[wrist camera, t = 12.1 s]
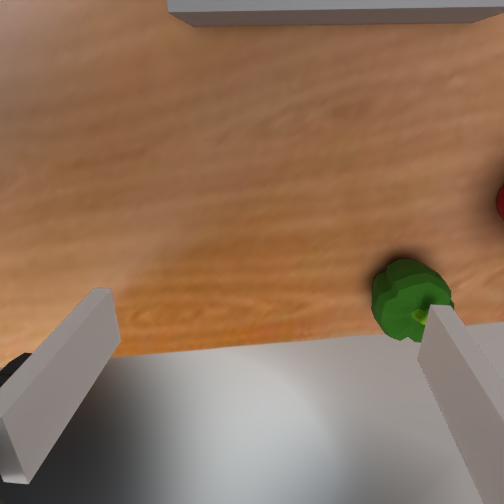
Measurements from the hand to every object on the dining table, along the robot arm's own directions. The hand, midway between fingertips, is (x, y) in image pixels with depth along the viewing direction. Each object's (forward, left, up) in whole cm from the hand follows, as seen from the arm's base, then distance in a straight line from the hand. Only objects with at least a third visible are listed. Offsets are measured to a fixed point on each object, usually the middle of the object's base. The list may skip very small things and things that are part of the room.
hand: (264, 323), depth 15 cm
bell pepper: (+15, -13, -29) cm, 35 cm away
